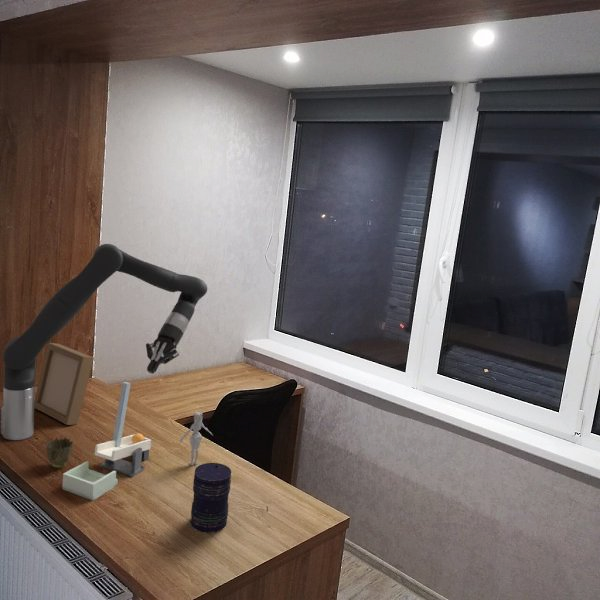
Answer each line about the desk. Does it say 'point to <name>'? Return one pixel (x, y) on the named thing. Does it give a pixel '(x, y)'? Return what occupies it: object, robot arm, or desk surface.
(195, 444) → the human figurine
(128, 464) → the stand
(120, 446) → the lever
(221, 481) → the dark blue ridged cylinder
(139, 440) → the ball
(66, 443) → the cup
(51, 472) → the desk surface
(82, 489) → the tray
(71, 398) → the photo frame
